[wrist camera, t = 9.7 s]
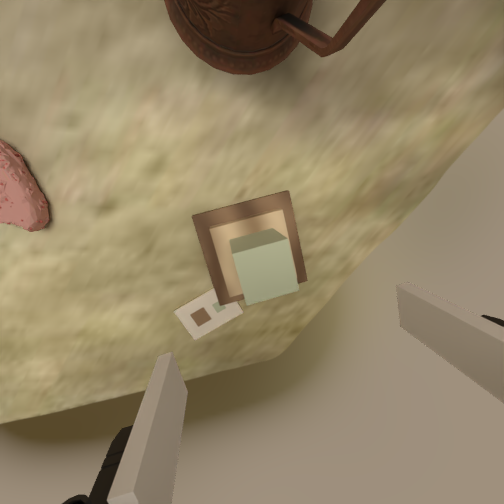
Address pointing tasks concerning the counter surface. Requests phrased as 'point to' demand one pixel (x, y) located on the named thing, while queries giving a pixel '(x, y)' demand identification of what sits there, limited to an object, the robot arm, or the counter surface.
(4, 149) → the ice cream bar
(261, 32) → the cup holder
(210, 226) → the base brick
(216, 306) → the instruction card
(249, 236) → the sage brick
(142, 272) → the counter surface
